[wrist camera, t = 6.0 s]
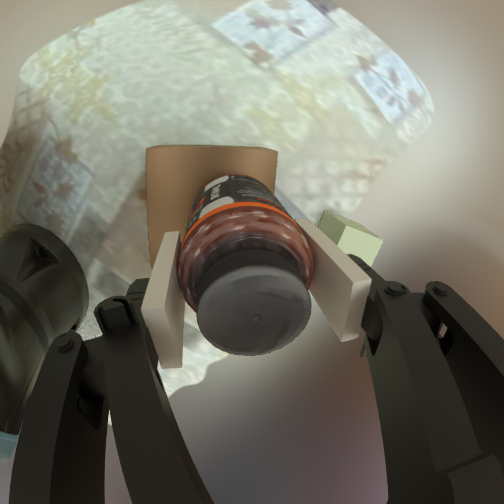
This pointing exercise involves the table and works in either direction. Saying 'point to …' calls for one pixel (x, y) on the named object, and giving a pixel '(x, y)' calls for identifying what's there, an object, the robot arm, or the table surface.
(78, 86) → the table surface
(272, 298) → the supplement bottle
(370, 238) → the sage block
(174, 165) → the walnut block
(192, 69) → the table surface
